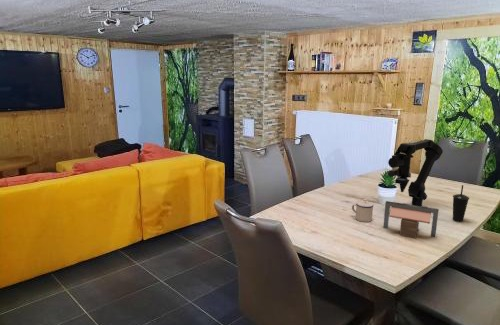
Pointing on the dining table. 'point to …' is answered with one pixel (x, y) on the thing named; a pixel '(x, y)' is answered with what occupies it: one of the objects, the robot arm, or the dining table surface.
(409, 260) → the dining table surface
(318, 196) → the dining table surface
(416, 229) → the block
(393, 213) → the flap door
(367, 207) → the teacup with lid
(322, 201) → the dining table surface
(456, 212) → the drinking cup
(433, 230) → the gate frame
